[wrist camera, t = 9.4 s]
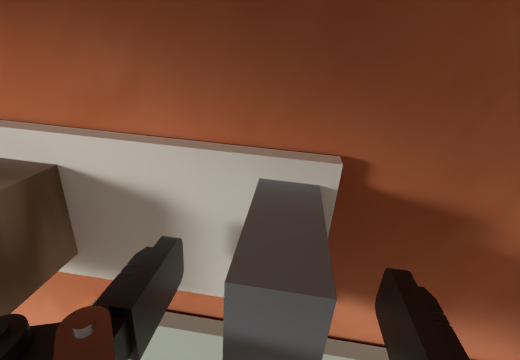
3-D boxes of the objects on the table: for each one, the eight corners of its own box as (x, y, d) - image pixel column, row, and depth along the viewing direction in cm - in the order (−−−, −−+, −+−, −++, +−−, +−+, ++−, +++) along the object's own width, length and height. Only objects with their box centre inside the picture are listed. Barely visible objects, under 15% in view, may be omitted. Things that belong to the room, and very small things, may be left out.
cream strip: (-181, 100, 14) (-560, 135, 8) (339, 156, 12) (383, 268, 6) (-108, 232, 18) (-338, 331, 11) (312, 296, 15) (320, 466, 9)
